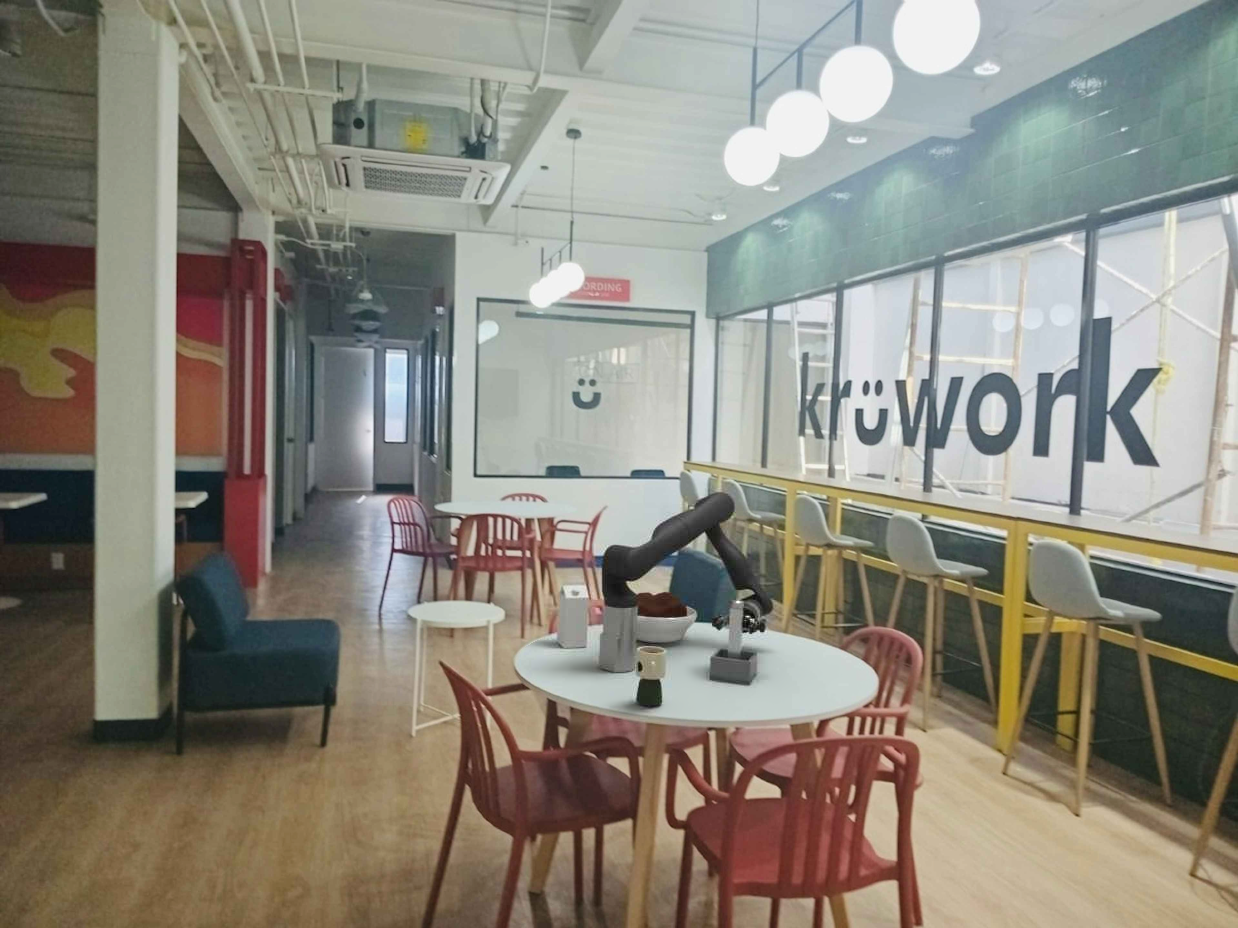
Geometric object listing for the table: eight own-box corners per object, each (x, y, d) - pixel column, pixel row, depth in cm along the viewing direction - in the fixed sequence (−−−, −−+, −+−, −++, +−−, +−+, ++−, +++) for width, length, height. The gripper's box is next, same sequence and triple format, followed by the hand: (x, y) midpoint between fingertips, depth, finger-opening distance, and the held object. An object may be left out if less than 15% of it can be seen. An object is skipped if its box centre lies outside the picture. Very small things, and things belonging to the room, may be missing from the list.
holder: (749, 684, 224) (750, 661, 224) (709, 679, 227) (710, 656, 227) (756, 674, 234) (757, 652, 234) (717, 669, 238) (718, 647, 237)
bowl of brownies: (655, 654, 251) (657, 602, 250) (598, 636, 269) (600, 588, 268) (712, 643, 267) (714, 594, 267) (655, 627, 286) (657, 581, 285)
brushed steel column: (740, 676, 228) (744, 603, 227) (723, 674, 229) (726, 601, 228) (743, 671, 233) (747, 599, 232) (726, 669, 234) (730, 597, 233)
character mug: (632, 696, 210) (634, 643, 210) (661, 697, 210) (664, 644, 210) (635, 710, 199) (638, 655, 199) (666, 711, 200) (669, 656, 199)
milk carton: (556, 642, 259) (559, 579, 258) (579, 641, 262) (582, 579, 261) (563, 648, 252) (566, 584, 252) (586, 647, 255) (589, 583, 254)
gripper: (721, 600, 246) (708, 611, 231) (771, 606, 241) (762, 617, 226) (719, 626, 246) (707, 639, 231) (769, 632, 242) (760, 645, 226)
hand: (734, 628), depth 228 cm, fingers open, 8 cm apart
